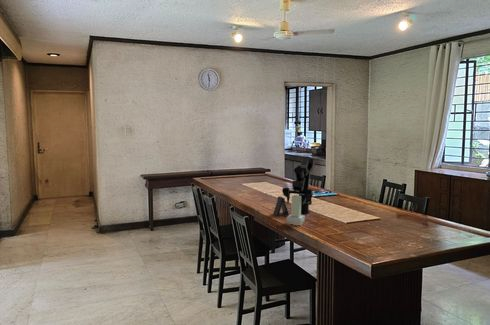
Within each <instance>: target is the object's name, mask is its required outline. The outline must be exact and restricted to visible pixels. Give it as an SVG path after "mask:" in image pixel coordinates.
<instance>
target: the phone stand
mask: <svg viewBox="0 0 490 325" xmlns="http://www.w3.org/2000/svg"><path fill="white" fill-rule="evenodd" d="M276 198H277V199H276V200H277V202H276V205H275V207H274V210H273V215H275V216H277V217H280V215H282V216H289V215H290V214H289V211H288V208H287V205H286V202H285V201H286V200H285V198H284V197H283V196H277V197H276ZM281 211H282V212H281Z"/></svg>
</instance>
